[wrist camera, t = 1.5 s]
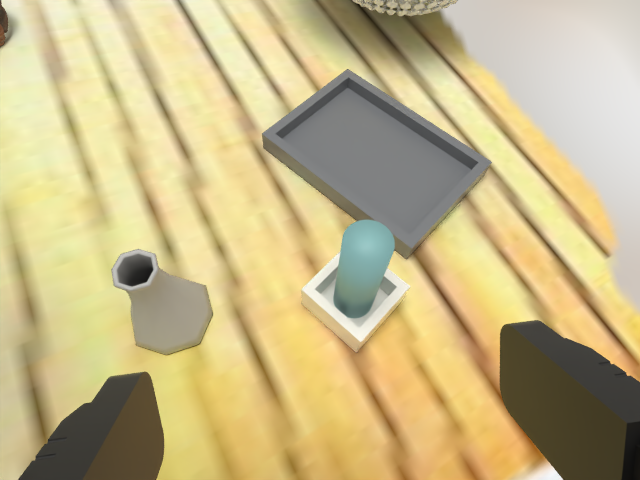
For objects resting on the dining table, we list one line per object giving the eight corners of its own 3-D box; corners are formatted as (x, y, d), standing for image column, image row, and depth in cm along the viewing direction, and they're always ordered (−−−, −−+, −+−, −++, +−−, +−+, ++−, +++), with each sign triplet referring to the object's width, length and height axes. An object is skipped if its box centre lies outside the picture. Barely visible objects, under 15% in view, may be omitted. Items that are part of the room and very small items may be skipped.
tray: (263, 147, 48) (261, 133, 46) (346, 84, 54) (347, 68, 52) (406, 259, 42) (411, 248, 40) (483, 175, 48) (491, 162, 46)
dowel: (324, 299, 39) (331, 242, 30) (350, 273, 41) (365, 210, 31) (355, 326, 38) (372, 276, 29) (380, 298, 40) (405, 241, 30)
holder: (301, 303, 40) (301, 289, 37) (348, 256, 42) (351, 239, 39) (356, 352, 38) (360, 342, 35) (402, 300, 40) (410, 286, 37)
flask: (138, 278, 41) (93, 224, 32) (216, 277, 41) (192, 223, 32) (124, 356, 37) (68, 320, 28) (209, 354, 38) (180, 318, 29)
